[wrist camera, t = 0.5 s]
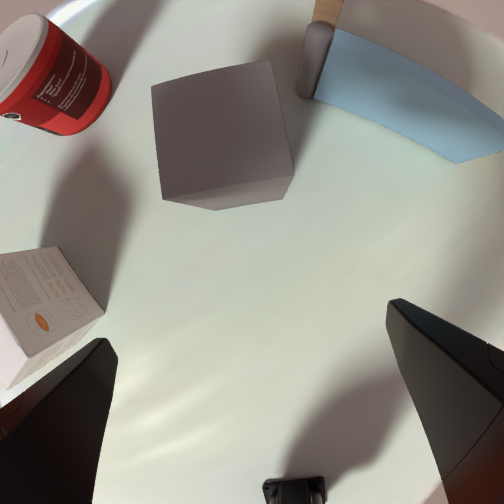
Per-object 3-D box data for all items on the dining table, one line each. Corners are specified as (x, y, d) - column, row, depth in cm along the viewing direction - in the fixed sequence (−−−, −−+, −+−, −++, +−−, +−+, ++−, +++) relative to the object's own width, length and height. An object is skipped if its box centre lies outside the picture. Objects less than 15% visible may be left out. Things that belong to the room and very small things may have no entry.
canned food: (46, 94, 22) (-25, 59, 11) (107, 51, 21) (45, -7, 10) (55, 153, 22) (-32, 131, 11) (121, 109, 22) (43, 55, 11)
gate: (293, 95, 21) (304, 35, 12) (298, 81, 20) (310, 19, 12) (453, 165, 20) (517, 148, 12) (456, 151, 20) (517, 130, 12)
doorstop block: (282, 199, 21) (294, 175, 11) (215, 210, 22) (162, 199, 11) (270, 134, 21) (269, 59, 10) (205, 146, 21) (150, 86, 10)
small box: (32, 280, 24) (-46, 302, 13) (58, 243, 23) (-29, 255, 13) (77, 345, 24) (6, 392, 13) (107, 313, 23) (28, 359, 13)
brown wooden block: (318, 79, 20) (343, 1, 10) (301, 73, 20) (316, -7, 10) (331, 38, 20) (356, -39, 10) (315, 33, 20) (333, -46, 10)
